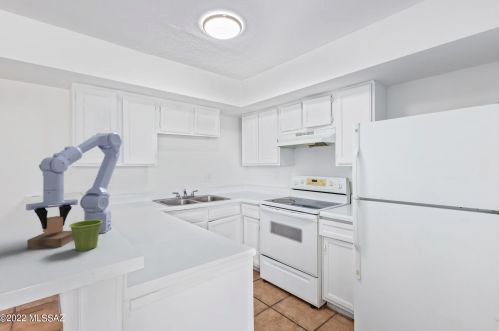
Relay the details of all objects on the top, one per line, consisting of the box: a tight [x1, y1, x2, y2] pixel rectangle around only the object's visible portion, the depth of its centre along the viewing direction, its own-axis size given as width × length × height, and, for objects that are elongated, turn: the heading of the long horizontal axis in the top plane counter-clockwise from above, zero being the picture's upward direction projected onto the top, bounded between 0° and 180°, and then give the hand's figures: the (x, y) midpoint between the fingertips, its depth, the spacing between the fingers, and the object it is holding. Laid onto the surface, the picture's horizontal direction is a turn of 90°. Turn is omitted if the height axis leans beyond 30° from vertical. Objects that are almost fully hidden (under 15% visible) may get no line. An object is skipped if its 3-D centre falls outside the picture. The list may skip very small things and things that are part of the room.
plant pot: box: [68, 220, 102, 252], centre depth 80 cm, size 9×9×9 cm
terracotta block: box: [42, 215, 64, 234], centre depth 85 cm, size 4×4×5 cm
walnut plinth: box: [26, 230, 74, 250], centre depth 85 cm, size 10×10×3 cm
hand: (53, 227), depth 85 cm, fingers closed on terracotta block, 4 cm apart
